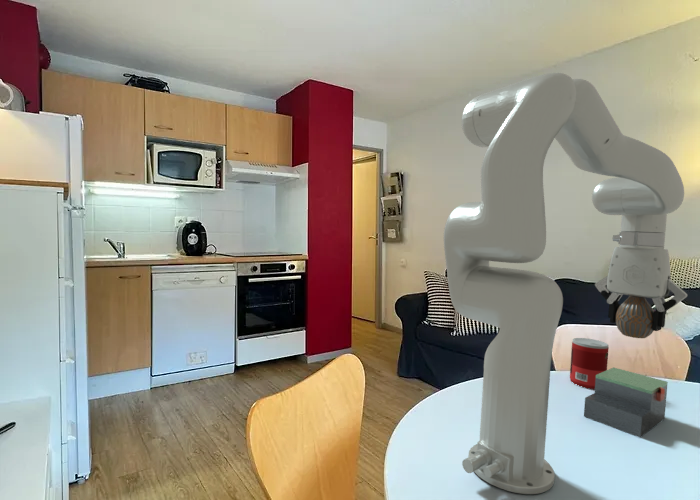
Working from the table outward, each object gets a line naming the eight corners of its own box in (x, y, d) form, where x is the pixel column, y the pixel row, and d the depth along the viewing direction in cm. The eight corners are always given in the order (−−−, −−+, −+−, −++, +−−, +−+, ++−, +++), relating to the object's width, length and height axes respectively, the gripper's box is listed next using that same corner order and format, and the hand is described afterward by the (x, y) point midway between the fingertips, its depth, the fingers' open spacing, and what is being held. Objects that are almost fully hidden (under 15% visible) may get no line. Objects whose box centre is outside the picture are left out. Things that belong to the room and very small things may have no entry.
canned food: (611, 391, 97) (614, 347, 97) (575, 387, 99) (578, 344, 98) (598, 380, 105) (601, 339, 104) (565, 377, 106) (568, 336, 106)
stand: (645, 439, 74) (649, 397, 74) (583, 416, 83) (586, 378, 82) (669, 420, 82) (672, 383, 82) (611, 401, 91) (613, 367, 91)
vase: (615, 330, 88) (618, 291, 88) (653, 336, 84) (657, 295, 84) (613, 335, 83) (616, 294, 82) (655, 342, 79) (658, 298, 78)
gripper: (588, 239, 87) (582, 319, 88) (689, 243, 73) (681, 338, 74) (602, 239, 92) (597, 316, 92) (700, 243, 78) (693, 333, 79)
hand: (634, 325), depth 83 cm, fingers closed on vase, 6 cm apart
